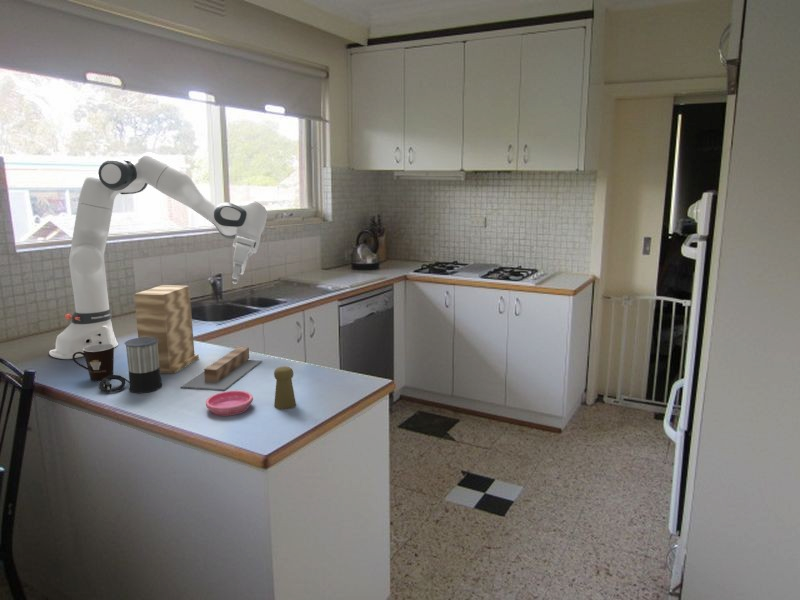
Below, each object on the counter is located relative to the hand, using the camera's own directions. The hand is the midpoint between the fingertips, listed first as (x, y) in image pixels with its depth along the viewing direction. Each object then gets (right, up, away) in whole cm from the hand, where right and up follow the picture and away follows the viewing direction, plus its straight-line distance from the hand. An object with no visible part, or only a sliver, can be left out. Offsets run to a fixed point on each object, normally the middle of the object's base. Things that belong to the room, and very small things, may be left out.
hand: (234, 280), depth 203 cm
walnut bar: (+3, -30, -16) cm, 34 cm away
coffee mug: (-37, -32, -22) cm, 53 cm away
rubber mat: (+2, -31, -19) cm, 36 cm away
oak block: (-19, -29, -10) cm, 36 cm away
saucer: (+13, -37, -47) cm, 61 cm away
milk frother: (-21, -34, -32) cm, 51 cm away
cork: (+27, -36, -44) cm, 64 cm away
